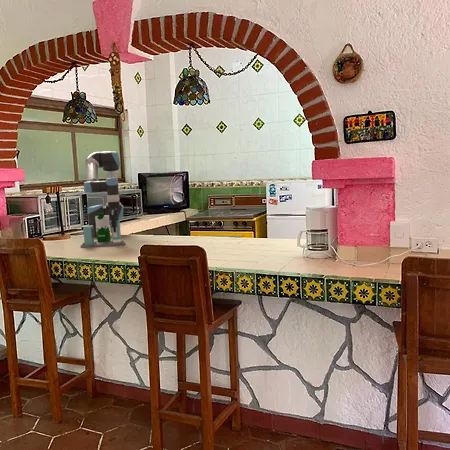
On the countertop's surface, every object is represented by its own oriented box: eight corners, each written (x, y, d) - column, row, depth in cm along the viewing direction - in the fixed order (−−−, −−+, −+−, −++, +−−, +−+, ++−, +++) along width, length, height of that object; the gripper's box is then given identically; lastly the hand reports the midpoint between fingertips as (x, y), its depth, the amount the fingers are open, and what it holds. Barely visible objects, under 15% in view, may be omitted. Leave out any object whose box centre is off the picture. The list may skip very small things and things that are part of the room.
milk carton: (95, 242, 335) (93, 213, 332) (100, 240, 344) (98, 212, 341) (108, 241, 334) (105, 213, 332) (112, 239, 343) (110, 212, 341)
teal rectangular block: (86, 243, 320) (85, 225, 319) (95, 243, 320) (93, 225, 319) (84, 244, 315) (83, 226, 314) (93, 244, 315) (91, 226, 314)
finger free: (112, 238, 320) (111, 220, 319) (121, 238, 320) (119, 220, 319) (111, 239, 315) (109, 221, 314) (119, 239, 316) (118, 221, 314)
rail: (83, 245, 321) (83, 241, 321) (125, 243, 322) (125, 239, 322) (80, 247, 314) (80, 243, 314) (123, 245, 315) (123, 241, 315)
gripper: (110, 200, 324) (113, 234, 327) (104, 202, 306) (107, 238, 309) (121, 200, 324) (124, 234, 327) (116, 202, 306) (119, 238, 309)
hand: (116, 236), depth 318 cm, fingers closed on finger free, 5 cm apart
